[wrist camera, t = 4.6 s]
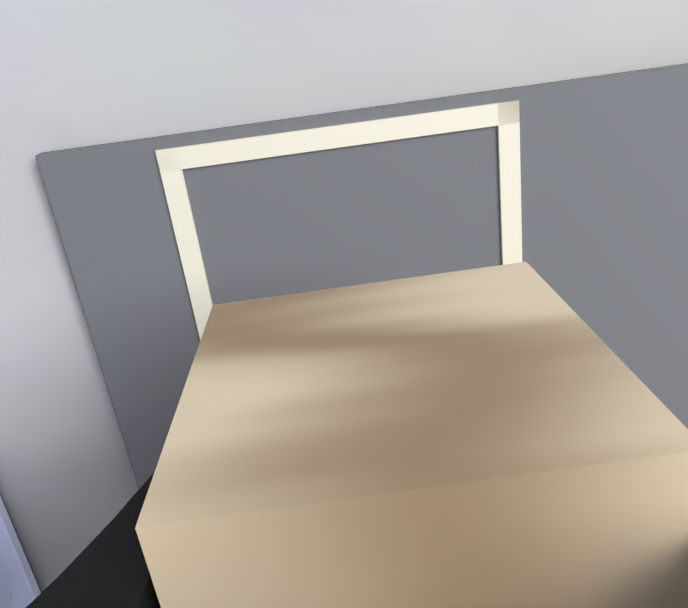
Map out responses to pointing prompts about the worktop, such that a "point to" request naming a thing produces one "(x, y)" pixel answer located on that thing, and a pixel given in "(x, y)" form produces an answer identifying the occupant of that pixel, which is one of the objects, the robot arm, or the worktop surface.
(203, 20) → the worktop surface
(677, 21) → the worktop surface
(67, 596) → the robot arm
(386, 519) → the maple block
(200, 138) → the build mat
